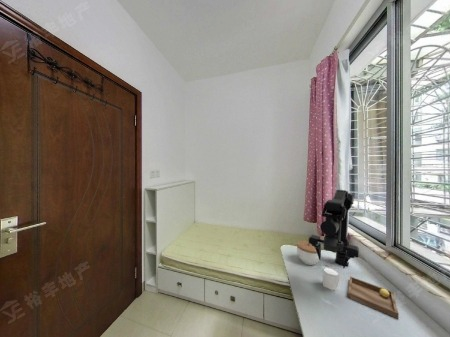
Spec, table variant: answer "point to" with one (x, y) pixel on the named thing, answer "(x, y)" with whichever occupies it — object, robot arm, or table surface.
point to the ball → (384, 292)
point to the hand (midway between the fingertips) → (331, 263)
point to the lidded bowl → (307, 253)
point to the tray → (372, 297)
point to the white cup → (330, 278)
